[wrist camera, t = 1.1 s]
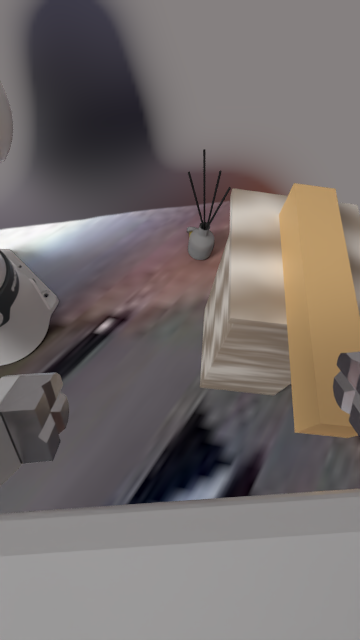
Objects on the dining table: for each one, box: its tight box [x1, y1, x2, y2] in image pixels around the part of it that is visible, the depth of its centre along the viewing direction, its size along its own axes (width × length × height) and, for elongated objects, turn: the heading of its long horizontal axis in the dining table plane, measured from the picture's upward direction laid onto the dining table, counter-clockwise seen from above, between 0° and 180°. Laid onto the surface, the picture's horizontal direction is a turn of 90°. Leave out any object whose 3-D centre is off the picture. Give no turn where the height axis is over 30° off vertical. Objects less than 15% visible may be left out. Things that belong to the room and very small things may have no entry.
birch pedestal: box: [200, 189, 360, 395], centre depth 43 cm, size 16×14×26 cm
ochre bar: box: [279, 183, 360, 438], centre depth 27 cm, size 22×4×4 cm, turn 175°
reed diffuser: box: [187, 150, 230, 260], centre depth 55 cm, size 10×7×20 cm
